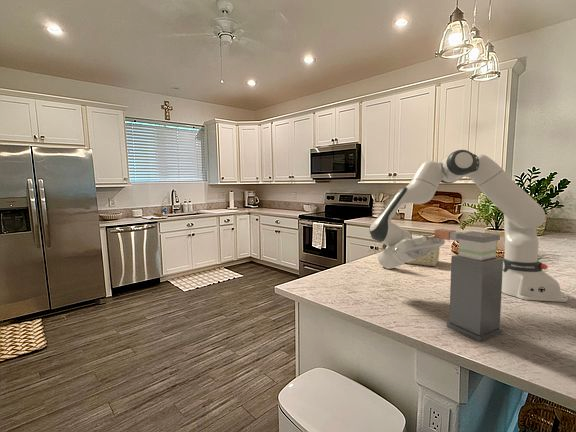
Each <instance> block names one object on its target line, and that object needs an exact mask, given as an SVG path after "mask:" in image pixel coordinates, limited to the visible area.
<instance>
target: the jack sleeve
mask: <svg viewBox="0 0 576 432" xmlns="http://www.w3.org/2000/svg"><path fill="white" fill-rule="evenodd" d="M503 258H504V257H498V256H496V259H492V260H488V261H483V262H480V261H476V260H471V259H467V258H462V257H458V254H455V255H451V259H450V260H451V262H450V263H451V264H450V287H449V288H450V293H449V321H447V322H446V327H447V328H448V329H451V330H453V331H455V332H457V333H460V334H461V335H464V336H466V337H469V338H471V339H473V340H475V341H477V342H479V343H482V342H484V341H487V340H489V339H492V338H494V337H496V336H498V335H501V334H503V328H501V309H502V293H503V292H502V274H503Z"/></svg>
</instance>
